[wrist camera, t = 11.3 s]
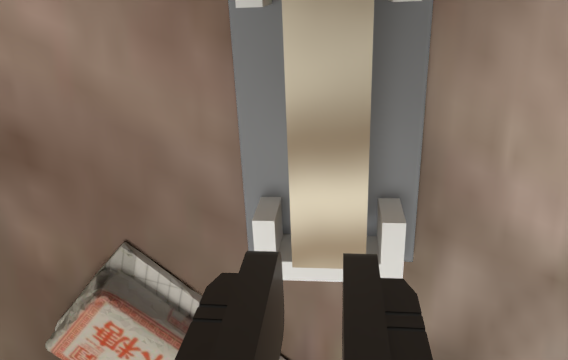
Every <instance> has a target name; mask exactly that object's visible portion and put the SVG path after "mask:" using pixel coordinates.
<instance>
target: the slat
mask: <svg viewBox="0 0 568 360" xmlns="http://www.w3.org/2000/svg"><path fill="white" fill-rule="evenodd" d="M282 22H283V47H284V72H285V97H286V122H287V147H288V172H289V197H290V222H291V247H292V267H295V268H330V269H343V253H353V254H366V242H367V211H368V180H369V149H370V118H371V87H372V55H373V24H374V0H282Z"/></svg>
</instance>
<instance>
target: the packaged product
mask: <svg viewBox="0 0 568 360" xmlns="http://www.w3.org/2000/svg"><path fill="white" fill-rule="evenodd" d="M201 298H202V296H201V295H200V294H198V293H196V292H195V291H193V290H191V289H190V288H188V287H187V286H186V285H184V284H183V283H182V282H181V281H179V280H178V279H177V278H175V277H174V276H172V275H171V274H169V273H168V272H167V271H165V270H164V269H163V268H161V267H160V266H159V265H157V264H156V263H155V262H153V261H152V260H151V259H149V258H148V257H147V256H145V255H144V254H142V253H141V252H139V251H138V250H136V249H135V248H133V247H132V246H130V245H129V244H128V243H127V242H124V243H123V244H122V245H121V246H120V247H119V248H118V249H117V251H116V252H115V253H114V254H113V255H112V256H111V258H110V259H109V260H108V261H107V262H106V263H105V264H104V266H103V267H102V268H101V269H100V270H99V271H98V273H97V274H96V275H95V276H94V278H93V279H92V280H91V282H90V283H89V284H88V285H87V287H86V288H85V289H84V291H83V292H82V293H81V294H80V296H79V297H78V298H77V300H76V301H75V302H74V303H73V305H72V306H71V307H70V309H69V310H68V311H67V312H66V313H65V314H64V315H63V316H62V318H61V319H60V320H59V321H58V323H57V325H56V328H55V332H54V333H53V334H52V336H51V337H50V339H49V340H48V341H47V342H46V345H45V347H46V348H47V350H48V351H49V352H51V353H53V354H54V355H56V356H57V357H59V358H60V359H62V360H175V357H176V355H177V353H178V351H179V348H180V346H181V344H182V342H183V339H184V337H185V335H186V332H187V330H188V328H189V326H190V323H191V322H193V317H194V314H195V312H196V310H197V307H199V303H200V301H201ZM279 360H286V359H284V358H283V357H282V356H280V358H279Z"/></svg>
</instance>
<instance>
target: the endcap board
mask: <svg viewBox="0 0 568 360" xmlns="http://www.w3.org/2000/svg"><path fill="white" fill-rule="evenodd" d="M228 3H229V16H230V28H231V40H232V53H233V65H234V77H235V90H236V102H237V114H238V127H239V139H240V151H241V164H242V176H243V188H244V201H245V213H246V225H247V237H248V250H249V251H275V252H280V253H281V258H282V275H283V280H298V281H329V282H343V269H330V268H295V267H292V247H291V222H290V197H289V172H288V147H287V122H286V97H285V72H284V47H283V22H282V0H228ZM432 10H433V0H374V24H373V55H372V87H371V118H370V149H369V180H368V211H367V242H366V254H377V256H378V263H379V271H380V278H402V279H403V265H404V262H413V252H414V239H415V227H416V214H417V201H418V188H419V176H420V163H421V150H422V138H423V125H424V112H425V99H426V87H427V74H428V61H429V48H430V36H431V23H432Z"/></svg>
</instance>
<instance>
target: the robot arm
mask: <svg viewBox="0 0 568 360" xmlns="http://www.w3.org/2000/svg"><path fill="white" fill-rule="evenodd" d="M283 331H284V295H283V275H282V258H281V253H280V252H275V251H247V252H246V254H245V257H244V259H243V262H242V265H241V268H240V271H239V273H221V274H220V275H219V276H218V277H217V278H216V279H215V280H214V281H213V282H211V283H210V284H209V285H208V286H207V287H206V289H205V292H204V294H203V296H202V298H201V301H200V303H199V307H197V310H196V312H195V314H194V317H193V322H191V323H190V326H189V328H188V330H187V332H186V335H185V337H184V339H183V342H182V344H181V346H180V348H179V351H178V353H177V355H176V357H175V360H279V358H280V352H281V346H282V340H283ZM342 359H343V360H433V358H432V354H431V350H430V346H429V342H428V338H427V334H426V332H425V325H424V321H423V317H422V316H421V309H420V305H419V301H418V296H417V294H416V293H415V292H414V290H413V289H412V288H411V287H410V286H409V285H408V284H407V283H406V281H405V280H404V279H402V278H380V271H379V263H378V256H377V254H353V253H343V317H342Z"/></svg>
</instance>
